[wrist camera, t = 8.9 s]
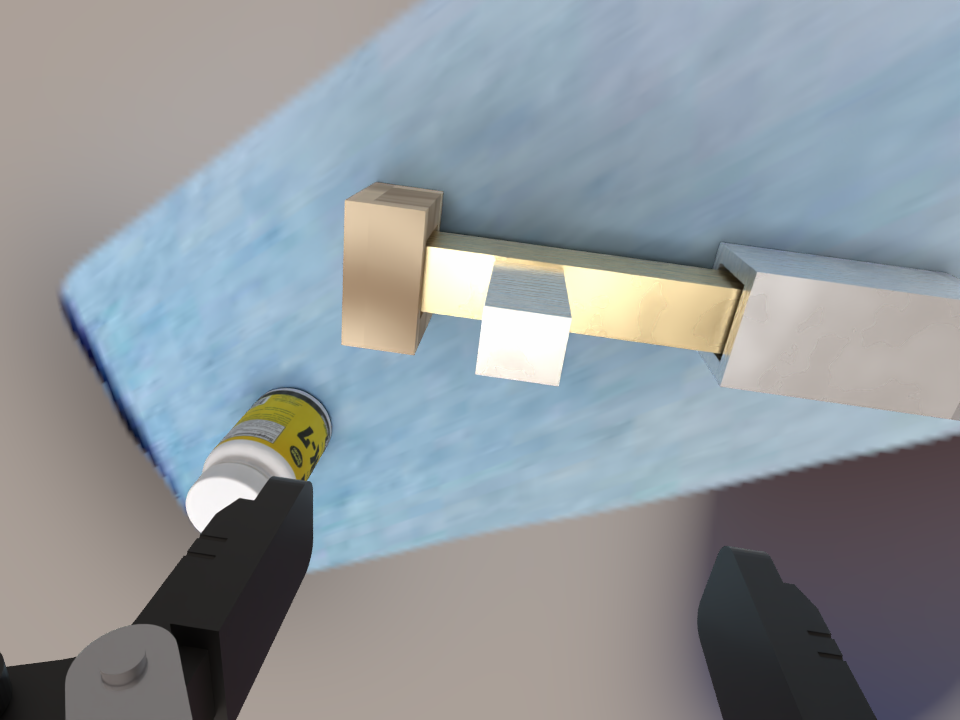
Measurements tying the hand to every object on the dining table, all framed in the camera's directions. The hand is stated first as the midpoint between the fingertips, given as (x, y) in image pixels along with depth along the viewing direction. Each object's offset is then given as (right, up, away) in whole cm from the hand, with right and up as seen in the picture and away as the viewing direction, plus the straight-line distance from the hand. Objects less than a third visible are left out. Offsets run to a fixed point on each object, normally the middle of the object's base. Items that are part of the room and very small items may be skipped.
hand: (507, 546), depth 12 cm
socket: (-4, +9, +18) cm, 21 cm away
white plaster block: (+16, +6, +18) cm, 24 cm away
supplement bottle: (-11, 0, +23) cm, 26 cm away
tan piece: (+4, +7, +17) cm, 19 cm away
